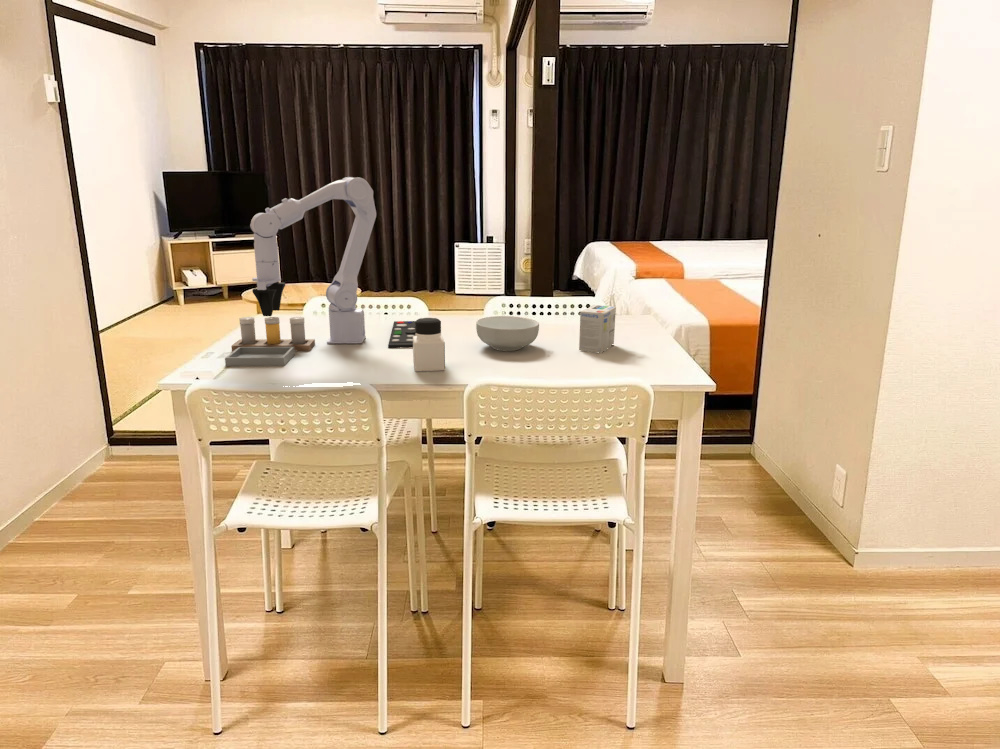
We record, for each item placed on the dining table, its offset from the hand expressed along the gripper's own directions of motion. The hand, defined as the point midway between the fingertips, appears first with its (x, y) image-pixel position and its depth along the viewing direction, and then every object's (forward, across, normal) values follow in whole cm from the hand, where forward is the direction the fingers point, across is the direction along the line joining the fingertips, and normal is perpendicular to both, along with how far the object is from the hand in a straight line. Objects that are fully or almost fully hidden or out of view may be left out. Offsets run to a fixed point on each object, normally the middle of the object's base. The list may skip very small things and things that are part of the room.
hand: (271, 313), depth 189 cm
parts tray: (+9, +12, 0) cm, 16 cm away
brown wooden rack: (+9, 0, 0) cm, 9 cm away
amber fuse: (+9, 0, 0) cm, 9 cm away
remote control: (+10, -15, +35) cm, 39 cm away
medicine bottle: (+10, +20, +42) cm, 48 cm away
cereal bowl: (+10, 0, +62) cm, 63 cm away
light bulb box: (+10, +1, +86) cm, 87 cm away
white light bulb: (+9, 0, -6) cm, 11 cm away
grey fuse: (+9, 0, +6) cm, 11 cm away
